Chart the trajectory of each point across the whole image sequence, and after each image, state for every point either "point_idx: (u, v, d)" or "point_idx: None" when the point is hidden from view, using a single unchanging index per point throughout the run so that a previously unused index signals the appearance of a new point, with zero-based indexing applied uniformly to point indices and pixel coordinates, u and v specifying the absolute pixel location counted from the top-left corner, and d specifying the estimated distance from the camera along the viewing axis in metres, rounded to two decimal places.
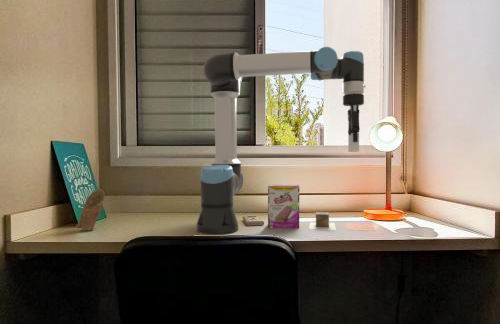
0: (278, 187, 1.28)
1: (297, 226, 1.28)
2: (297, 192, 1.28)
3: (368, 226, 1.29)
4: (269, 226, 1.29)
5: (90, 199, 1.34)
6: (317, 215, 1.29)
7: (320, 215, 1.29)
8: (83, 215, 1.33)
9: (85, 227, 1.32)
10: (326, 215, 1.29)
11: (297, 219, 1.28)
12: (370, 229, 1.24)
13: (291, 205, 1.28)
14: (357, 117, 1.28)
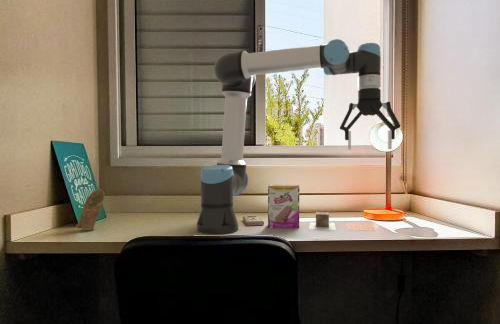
0: (278, 187, 1.28)
1: (297, 226, 1.28)
2: (297, 192, 1.28)
3: (368, 226, 1.29)
4: (269, 226, 1.29)
5: (90, 199, 1.34)
6: (317, 215, 1.29)
7: (320, 215, 1.29)
8: (83, 215, 1.33)
9: (85, 227, 1.32)
10: (326, 215, 1.29)
11: (297, 219, 1.28)
12: (370, 229, 1.24)
13: (291, 205, 1.28)
14: (345, 116, 1.30)
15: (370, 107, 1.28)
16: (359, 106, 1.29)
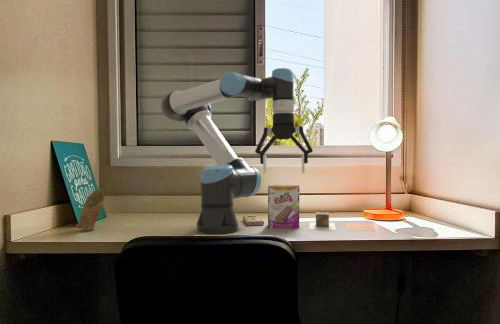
0: (278, 187, 1.28)
1: (297, 226, 1.28)
2: (297, 192, 1.28)
3: (368, 226, 1.29)
4: (269, 226, 1.29)
5: (90, 199, 1.34)
6: (317, 215, 1.29)
7: (320, 215, 1.29)
8: (83, 215, 1.33)
9: (85, 227, 1.32)
10: (326, 215, 1.29)
11: (297, 219, 1.28)
12: (370, 229, 1.24)
13: (291, 205, 1.28)
14: (260, 140, 1.31)
15: (283, 131, 1.29)
16: (273, 130, 1.29)
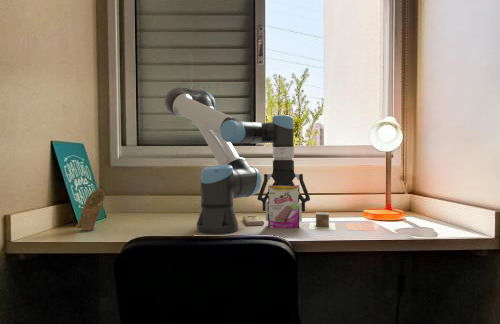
0: (278, 187, 1.28)
1: (297, 226, 1.28)
2: (297, 192, 1.28)
3: (368, 226, 1.29)
4: (269, 226, 1.29)
5: (90, 199, 1.34)
6: (317, 215, 1.29)
7: (320, 215, 1.29)
8: (83, 215, 1.33)
9: (85, 227, 1.32)
10: (326, 215, 1.29)
11: (297, 219, 1.28)
12: (370, 229, 1.24)
13: (291, 205, 1.28)
14: None
15: (283, 177, 1.29)
16: (273, 176, 1.30)
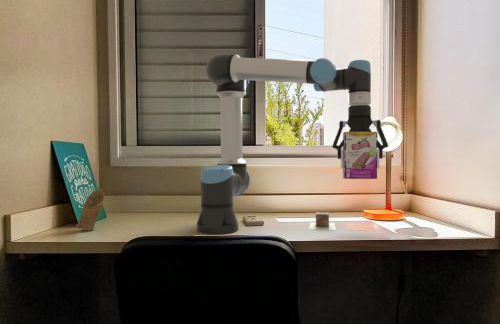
0: (355, 133, 1.26)
1: (375, 173, 1.25)
2: (375, 138, 1.25)
3: (368, 226, 1.29)
4: (346, 173, 1.26)
5: (90, 199, 1.34)
6: (317, 215, 1.29)
7: (320, 215, 1.29)
8: (83, 215, 1.33)
9: (85, 227, 1.32)
10: (326, 215, 1.29)
11: (375, 165, 1.25)
12: (370, 229, 1.24)
13: (369, 151, 1.25)
14: None
15: (360, 124, 1.27)
16: (349, 123, 1.27)
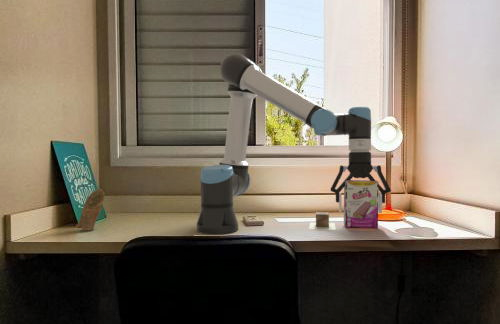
0: (356, 182, 1.26)
1: (376, 222, 1.26)
2: (376, 187, 1.25)
3: None
4: (347, 222, 1.27)
5: (90, 199, 1.34)
6: (317, 215, 1.29)
7: (320, 215, 1.29)
8: (83, 215, 1.33)
9: (85, 227, 1.32)
10: (326, 215, 1.29)
11: (376, 215, 1.26)
12: (370, 229, 1.24)
13: (370, 201, 1.25)
14: (336, 178, 1.29)
15: (361, 170, 1.27)
16: (350, 169, 1.28)
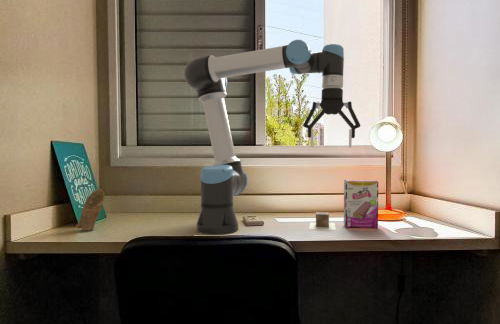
0: (356, 182, 1.26)
1: (376, 222, 1.26)
2: (376, 187, 1.25)
3: None
4: (347, 222, 1.27)
5: (90, 199, 1.34)
6: (317, 215, 1.29)
7: (320, 215, 1.29)
8: (83, 215, 1.33)
9: (85, 227, 1.32)
10: (326, 215, 1.29)
11: (376, 215, 1.26)
12: (370, 229, 1.24)
13: (370, 201, 1.26)
14: None
15: (332, 106, 1.32)
16: (322, 105, 1.33)
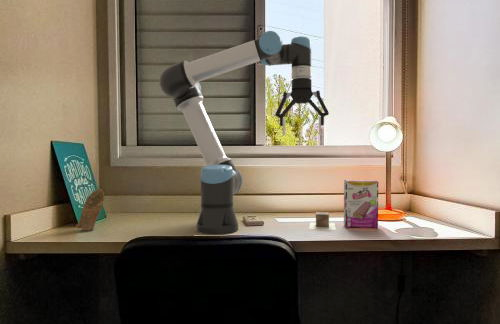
0: (356, 182, 1.26)
1: (376, 222, 1.26)
2: (376, 187, 1.25)
3: None
4: (347, 222, 1.27)
5: (90, 199, 1.34)
6: (317, 215, 1.29)
7: (320, 215, 1.29)
8: (83, 215, 1.33)
9: (85, 227, 1.32)
10: (326, 215, 1.29)
11: (376, 215, 1.26)
12: (370, 229, 1.24)
13: (370, 201, 1.26)
14: (280, 104, 1.41)
15: (302, 96, 1.39)
16: (292, 95, 1.40)
